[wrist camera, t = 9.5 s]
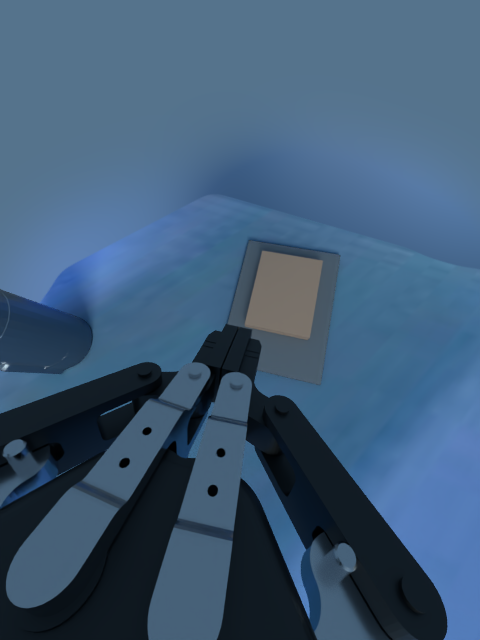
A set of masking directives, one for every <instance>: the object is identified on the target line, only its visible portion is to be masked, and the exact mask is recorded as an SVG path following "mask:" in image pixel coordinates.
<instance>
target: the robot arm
mask: <svg viewBox="0 0 480 640" xmlns="http://www.w3.org/2000/svg"><path fill="white" fill-rule="evenodd" d="M251 335H252V329H248V328H243V327H238V326H234V325H229V324H226V325H225V327H224V329H223V331H222V332H220V331H216V330H215V331H214V332H212V333H211V334H209V335H208V337H207V338H206V340H205V342H204V343H203V345H202V347H201V348H200V350H199V352H198V353H197V355H196V357H195V358H194V360H193V362H192V363H189V364H186V365H185V366H183V367H182V368H181V369H180V371H177V372H161V368H160V367H159V365H157V364H155V363H151V362H144V363H140V364H137V365H134V366H132V367H129V368H126V369H123V370H120V371H118V372H115V373H112V374H109V375H107V376H104V377H101V378H98V379H95V380H93V381H90V382H87V383H84V384H82V385H79V386H76V387H73V388H70V389H68V390H65V391H62V392H59V393H57V394H54V395H51V396H48V397H45V398H43V399H40V400H37V401H34V402H32V403H29V404H26V405H23V406H21V407H18V408H15V409H12V410H9V411H7V412H4V413H1V414H0V640H443V639H444V638H445V635H446V633H447V616H446V611H445V608H444V605H443V602H442V599H441V597H440V595H439V593H438V591H437V589H436V588H435V586H434V584H433V583H432V581H431V580H430V579H429V577H428V576H427V575H426V573H425V572H424V571H423V569H422V568H421V567H420V565H419V564H418V563H417V562H416V560H415V559H414V558H413V556H412V555H411V554H410V552H409V551H408V550H407V549H406V547H405V546H404V545H403V543H402V542H401V541H400V539H399V538H398V537H397V536H396V534H395V533H394V532H393V530H392V529H391V528H390V527H389V525H388V524H387V523H386V521H385V520H384V519H383V517H382V516H381V515H380V514H379V512H378V511H377V510H376V508H375V507H374V506H373V504H372V503H371V502H370V501H369V499H368V498H367V497H366V495H365V494H364V493H363V491H362V490H361V489H360V488H359V486H358V485H357V484H356V482H355V481H354V480H353V478H352V477H351V476H350V475H349V473H348V472H347V471H346V469H345V468H344V467H343V465H342V464H341V463H340V462H339V460H338V459H337V458H336V456H335V455H334V454H333V452H332V451H331V450H330V449H329V447H328V446H327V445H326V443H325V442H324V441H323V439H322V438H321V437H320V436H319V434H318V433H317V432H316V430H315V429H314V428H313V426H312V425H311V424H310V423H309V421H308V420H307V419H306V417H305V416H304V415H303V413H302V412H301V411H300V410H299V408H298V407H297V406H296V404H295V403H294V402H293V401H292V400H290V399H289V398H287V397H284V396H280V395H276V396H272V397H270V398H268V397H267V396H265V395H263V394H262V393H260V392H259V391H258V390H257V388H256V387H255V384H254V380H255V376H256V371H257V367H258V362H259V358H260V353H261V348H262V346H261V343H260V341H259V340H256V339H252V338H251ZM91 342H92V332H91V329H90V327H89V325H88V324H87V323H86V322H85V321H84V320H83V319H81V318H78V317H76V316H74V315H71V314H68V313H64V312H62V311H59V310H56V309H54V308H51V307H48V306H45V305H42V304H40V303H37V302H34V301H31V300H28V299H26V298H23V297H20V296H17V295H15V294H12V293H9V292H6V291H3V290H1V289H0V370H1V371H5V372H25V373H47V374H62V373H63V371H64V370H65V369H67V368H70V367H72V366H74V365H76V364H78V363H79V362H80V361H81V360H82V359H83V358H84V357H85V356H86V355H87V353H88V351H89V349H90V346H91ZM129 401H132V403H130V404H127V405H125V406H123V407H121V408H118V409H116V410H114V411H112V412H109V413H107V414H105V415H102V416H100V415H101V414H103V413H105V412H107V411H109V410H111V409H114V408H116V407H118V406H120V405H123V404H125V403H127V402H129ZM211 402H214V407H213V410H212V414H211V416H209V417H208V420H207V423H206V426H205V430H204V433H203V436H202V440H201V443H200V446H199V450H198V453H197V456H196V458H188V454H189V451H190V449H191V447H192V445H193V443H194V441H195V439H196V437H197V435H198V433H199V431H200V429H201V427H202V425H203V423H204V421H205V419H206V417H207V414H208V409H209V407H210V405H211ZM245 440H246V441H248V442H249V443H251V444H252V445H254V446H255V451H256V453H257V455H258V457H259V459H260V461H261V463H262V465H263V467H264V469H265V471H266V473H267V475H268V477H269V479H270V480H271V482H272V484H273V486H274V488H275V490H276V492H277V494H278V496H279V498H280V500H281V502H282V504H283V506H284V508H285V510H286V512H287V514H288V515H289V517H290V519H291V521H292V523H293V525H294V527H295V529H296V531H297V533H298V535H299V537H300V539H301V541H302V543H303V545H304V547H305V549H306V551H305V553H304V555H303V557H302V561H301V577H302V581H303V584H304V587H305V590H306V593H307V596H308V601H309V607H310V618H308V616H307V613H306V611H305V608H304V606H303V604H302V601H301V599H300V596H299V594H298V592H297V589H296V587H295V584H294V582H293V580H292V577H291V575H290V572H289V570H288V568H287V565H286V563H285V560H284V558H283V556H282V553H281V551H280V548H279V546H278V544H277V541H276V539H275V536H274V534H273V532H272V529H271V527H270V524H269V522H268V520H267V517H266V515H265V512H264V510H263V508H262V505H261V503H260V501H259V499H258V498H257V496H256V494H255V493H254V491H253V490H252V489H251V487H250V486H249V485H248V484H247V483H246V482H245V481H244V480H243V479H241V470H242V463H243V455H244V447H245ZM107 449H108V450H107ZM93 456H94V457H93ZM84 461H85V462H84ZM82 462H83V463H82ZM80 463H81V464H80ZM78 464H79V465H78ZM76 465H77V466H76ZM74 466H76V467H74ZM73 467H74V468H73ZM71 468H72V469H71ZM69 469H70V470H69ZM67 470H68V471H67ZM65 471H67V472H65ZM63 472H65V473H63ZM61 473H63V474H61ZM59 474H61V475H60V476H58V477H56V476H57V475H59Z"/></svg>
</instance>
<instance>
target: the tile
mask: <svg viewBox="0 0 480 640" xmlns="http://www.w3.org/2000/svg"><path fill="white" fill-rule="evenodd" d="M322 264H323V261H322V260H316V259H310V258H304V257H298V256H292V255H286V254H280V253H274V252H268V251H262V254H261V258H260V262H259V266H258V271H257V275H256V279H255V283H254V287H253V291H252V296H251V300H250V304H249V308H248V312H247V316H246V320H245V327H249V328H253V329H258V330H263V331H267V332H272V333H277V334H281V335H286V336H290V337H295V338H300V339H304V340H308V339H309V338H310V334H311V328H312V322H313V316H314V310H315V305H316V299H317V293H318V287H319V281H320V275H321V270H322Z"/></svg>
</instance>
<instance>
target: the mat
mask: <svg viewBox="0 0 480 640" xmlns="http://www.w3.org/2000/svg"><path fill="white" fill-rule="evenodd" d="M262 251H268V252H274V253H280V254H286V255H292V256H298V257H304V258H310V259H316V260H322V261H323V264H322V270H321V275H320V281H319V287H318V293H317V299H316V305H315V310H314V316H313V322H312V328H311V334H310V338H309V339H308V340H304V339H300V338H295V337H290V336H286V335H281V334H277V333H272V332H267V331H263V330H258V329H253V328H249V327H245V320H246V316H247V312H248V308H249V304H250V300H251V296H252V291H253V287H254V283H255V279H256V275H257V271H258V266H259V262H260V258H261V254H262ZM339 261H340V255H337V254H331V253H324V252H318V251H312V250H306V249H300V248H294V247H288V246H282V245H275V244H269V243H263V242H257V241H251V240H249V243H248V246H247V250H246V254H245V258H244V262H243V266H242V270H241V274H240V278H239V281H238V285H237V289H236V293H235V297H234V301H233V305H232V309H231V312H230V316H229V320H228V324H229V325H234V326H238V327H243V328H248V329H252V335H251V338H252V339H256V340H259V341H260V343H261V346H262V348H261V353H260V358H259V362H258V367H257V370H259V371H263V372H267V373H271V374H276V375H280V376H284V377H288V378H292V379H297V380H301V381H305V382H309V383H313V384H318V385H321V378H322V372H323V365H324V359H325V352H326V346H327V339H328V333H329V326H330V320H331V313H332V307H333V300H334V294H335V287H336V281H337V274H338V268H339Z"/></svg>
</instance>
